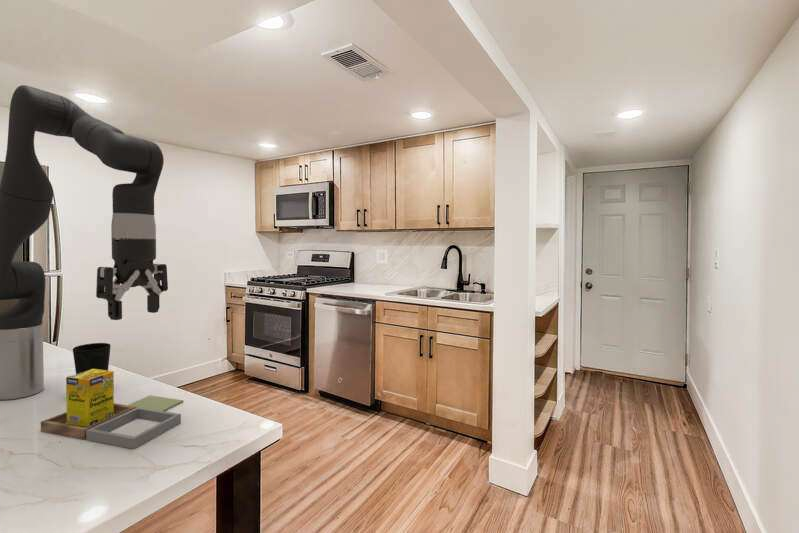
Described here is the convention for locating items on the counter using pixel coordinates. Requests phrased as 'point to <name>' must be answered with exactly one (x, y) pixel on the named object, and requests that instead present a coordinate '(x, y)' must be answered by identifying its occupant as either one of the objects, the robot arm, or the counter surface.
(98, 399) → the supplement box
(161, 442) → the counter surface
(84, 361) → the cup
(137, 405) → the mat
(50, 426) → the walnut tray
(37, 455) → the counter surface
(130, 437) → the grey tray
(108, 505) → the counter surface
